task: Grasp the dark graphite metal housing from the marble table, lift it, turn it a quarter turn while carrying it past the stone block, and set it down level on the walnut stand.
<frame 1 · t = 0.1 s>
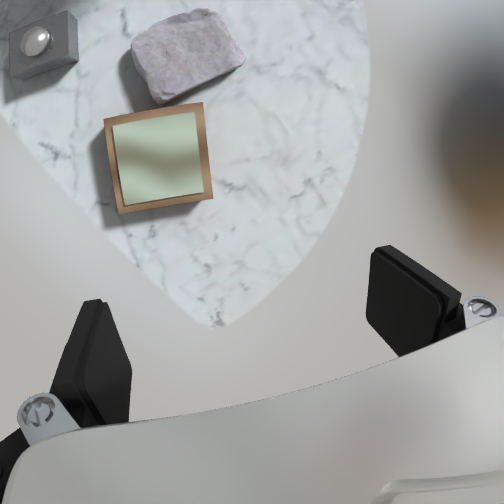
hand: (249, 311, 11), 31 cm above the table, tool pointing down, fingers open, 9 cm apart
stone block: (183, 53, 33), on the table
stand: (160, 155, 37), on the table
housing: (49, 49, 28), on the table
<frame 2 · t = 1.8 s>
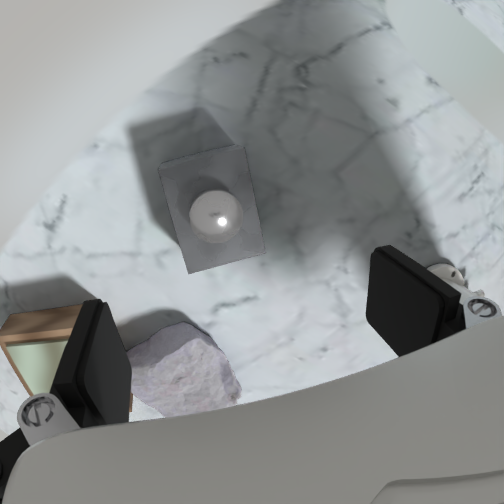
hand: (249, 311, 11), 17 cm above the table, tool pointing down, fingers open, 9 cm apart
stone block: (186, 367, 33), on the table
stand: (71, 353, 29), on the table
housing: (209, 199, 27), on the table
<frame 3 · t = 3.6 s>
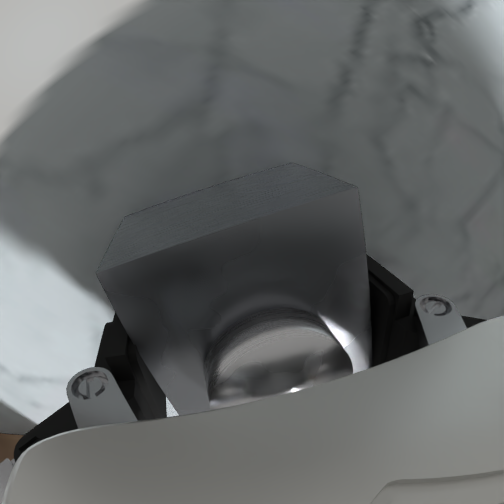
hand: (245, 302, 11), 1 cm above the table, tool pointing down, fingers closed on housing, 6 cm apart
stand: (34, 477, 15), on the table
housing: (240, 288, 12), on the table, touching gripper
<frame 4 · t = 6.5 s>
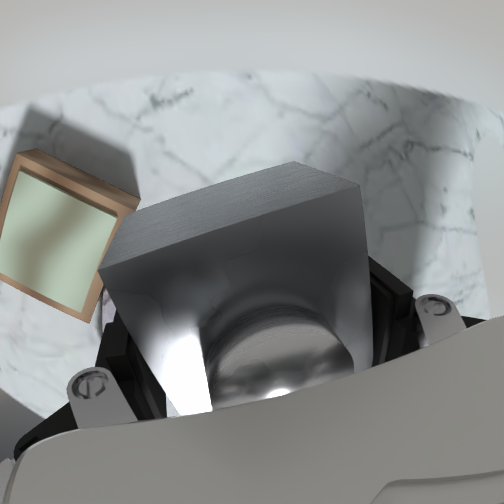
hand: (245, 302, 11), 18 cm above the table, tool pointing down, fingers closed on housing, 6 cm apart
stone block: (154, 319, 31), on the table
stand: (64, 228, 26), on the table
housing: (240, 287, 12), point 17 cm above the table, touching gripper
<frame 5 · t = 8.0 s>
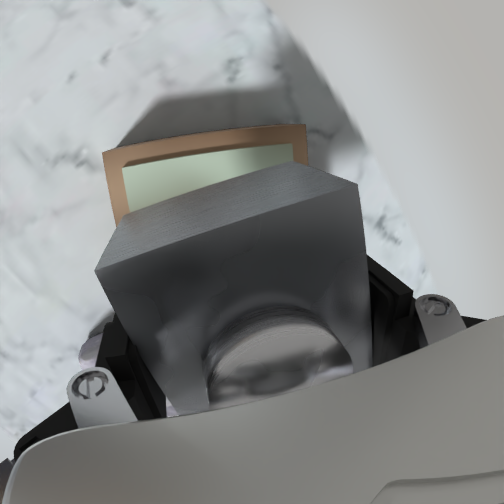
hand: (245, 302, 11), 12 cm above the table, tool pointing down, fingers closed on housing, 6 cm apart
stone block: (167, 355, 26), on the table
stand: (210, 214, 22), on the table
housing: (239, 287, 12), point 10 cm above the table, touching gripper
when the fingers open (7 cm above the table, at t = 9.3 s): housing drops 1 cm, resting on stand.
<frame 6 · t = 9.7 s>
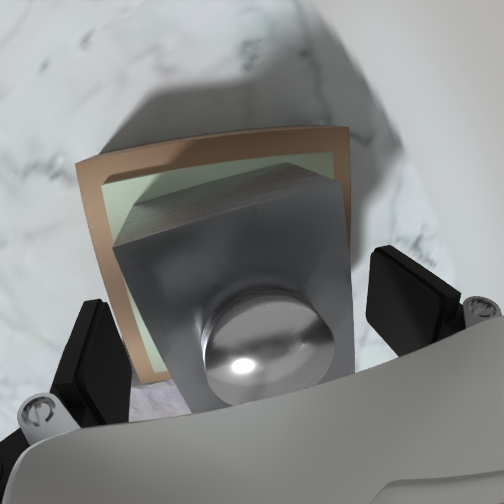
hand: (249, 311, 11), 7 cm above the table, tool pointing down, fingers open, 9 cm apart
stone block: (164, 395, 21), on the table
stand: (219, 238, 17), on the table
housing: (235, 275, 13), point 4 cm above the table, touching stand
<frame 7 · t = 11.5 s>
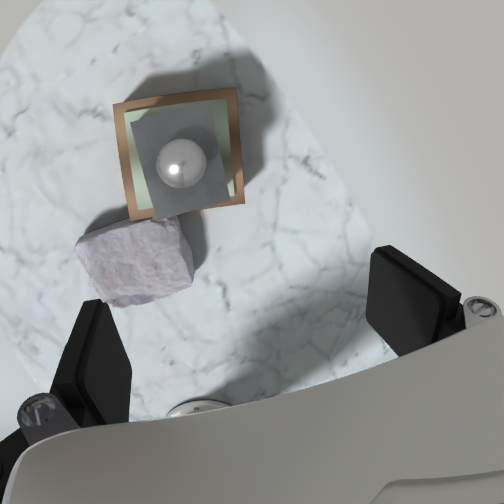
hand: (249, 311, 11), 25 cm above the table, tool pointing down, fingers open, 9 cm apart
stone block: (139, 255, 35), on the table
stand: (179, 149, 31), on the table
housing: (180, 154, 27), point 4 cm above the table, touching stand
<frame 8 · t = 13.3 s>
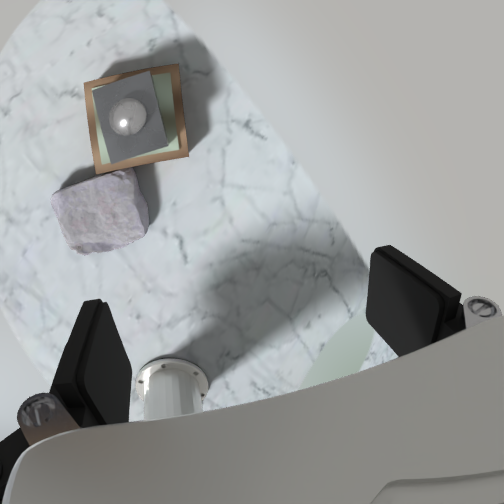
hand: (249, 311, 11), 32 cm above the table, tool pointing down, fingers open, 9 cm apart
stone block: (104, 210, 39), on the table
stand: (138, 118, 36), on the table
housing: (134, 118, 32), point 4 cm above the table, touching stand
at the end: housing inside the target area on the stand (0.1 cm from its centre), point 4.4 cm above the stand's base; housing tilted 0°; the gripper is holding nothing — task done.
